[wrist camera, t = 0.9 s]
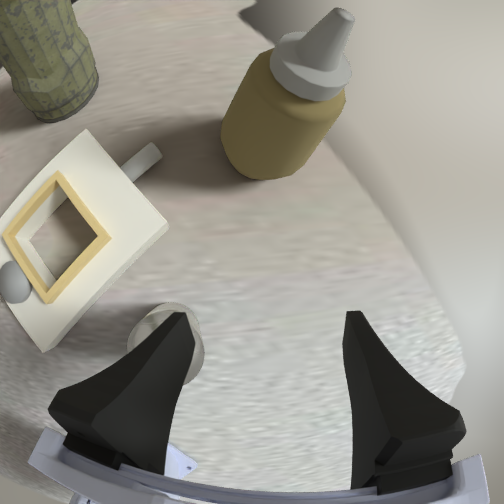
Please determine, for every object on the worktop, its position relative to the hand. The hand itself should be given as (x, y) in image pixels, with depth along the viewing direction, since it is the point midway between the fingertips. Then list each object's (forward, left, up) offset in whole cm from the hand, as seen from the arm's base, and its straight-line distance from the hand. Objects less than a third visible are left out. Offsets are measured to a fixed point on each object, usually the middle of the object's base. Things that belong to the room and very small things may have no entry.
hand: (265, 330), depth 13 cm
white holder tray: (-5, +14, -13) cm, 20 cm away
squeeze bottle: (+12, +8, -13) cm, 20 cm away
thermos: (+2, +29, -13) cm, 32 cm away
